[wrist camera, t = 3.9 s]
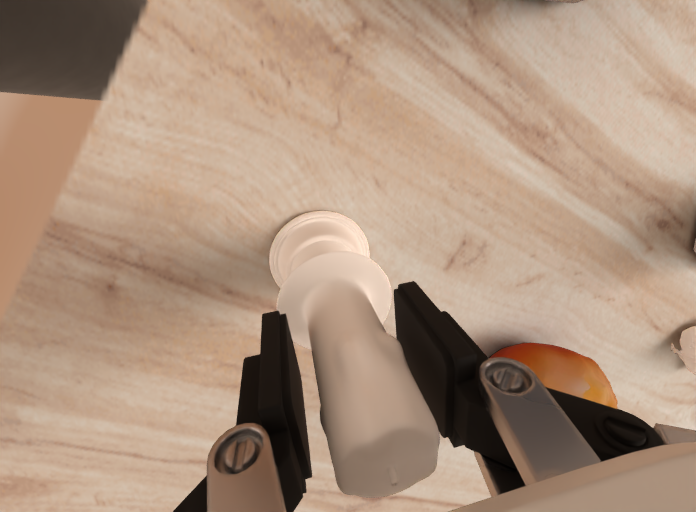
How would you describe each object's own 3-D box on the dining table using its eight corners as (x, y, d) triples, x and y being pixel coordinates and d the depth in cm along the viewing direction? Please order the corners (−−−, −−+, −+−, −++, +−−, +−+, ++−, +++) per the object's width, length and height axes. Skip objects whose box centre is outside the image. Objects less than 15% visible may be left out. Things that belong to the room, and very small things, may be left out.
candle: (250, 235, 16) (205, 482, 5) (349, 193, 16) (501, 348, 5) (294, 315, 18) (327, 600, 8) (380, 278, 19) (530, 502, 8)
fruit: (441, 438, 23) (544, 502, 16) (455, 328, 25) (554, 340, 18) (523, 444, 26) (643, 503, 19) (530, 345, 28) (644, 362, 20)
